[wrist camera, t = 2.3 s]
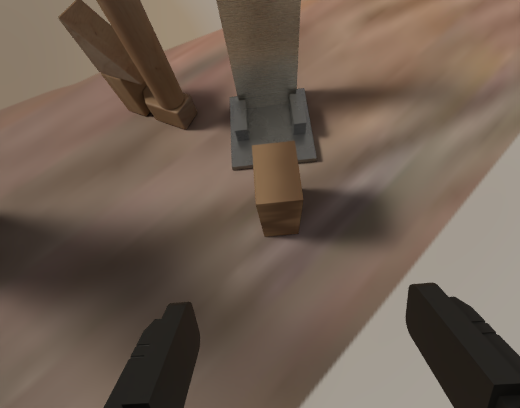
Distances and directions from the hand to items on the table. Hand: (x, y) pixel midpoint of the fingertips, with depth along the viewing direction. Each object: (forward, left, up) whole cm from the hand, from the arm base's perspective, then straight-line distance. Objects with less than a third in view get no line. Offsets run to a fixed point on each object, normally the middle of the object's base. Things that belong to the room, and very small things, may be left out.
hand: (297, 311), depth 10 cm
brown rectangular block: (0, +12, -20) cm, 23 cm away
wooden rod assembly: (-16, +30, -20) cm, 39 cm away
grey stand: (0, +25, -20) cm, 32 cm away
